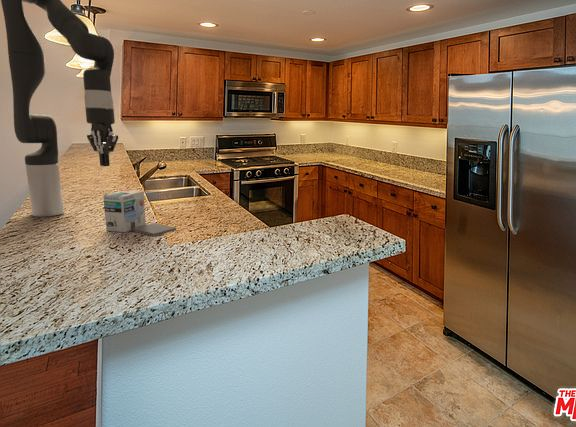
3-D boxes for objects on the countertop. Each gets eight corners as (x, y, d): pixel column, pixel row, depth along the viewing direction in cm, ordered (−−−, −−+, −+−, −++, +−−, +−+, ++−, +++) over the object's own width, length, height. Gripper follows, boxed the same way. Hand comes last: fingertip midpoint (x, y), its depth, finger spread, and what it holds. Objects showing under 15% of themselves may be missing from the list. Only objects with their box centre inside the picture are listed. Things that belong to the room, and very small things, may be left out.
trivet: (131, 230, 108) (131, 228, 108) (154, 225, 115) (154, 222, 114) (153, 236, 103) (153, 233, 103) (176, 230, 109) (176, 227, 109)
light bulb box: (125, 233, 106) (122, 196, 103) (105, 231, 107) (101, 195, 105) (146, 224, 116) (144, 190, 114) (127, 222, 117) (125, 189, 115)
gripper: (74, 107, 109) (80, 165, 112) (100, 105, 102) (106, 168, 105) (98, 108, 115) (104, 164, 118) (124, 107, 108) (129, 166, 112)
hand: (105, 166), depth 112 cm, fingers closed
